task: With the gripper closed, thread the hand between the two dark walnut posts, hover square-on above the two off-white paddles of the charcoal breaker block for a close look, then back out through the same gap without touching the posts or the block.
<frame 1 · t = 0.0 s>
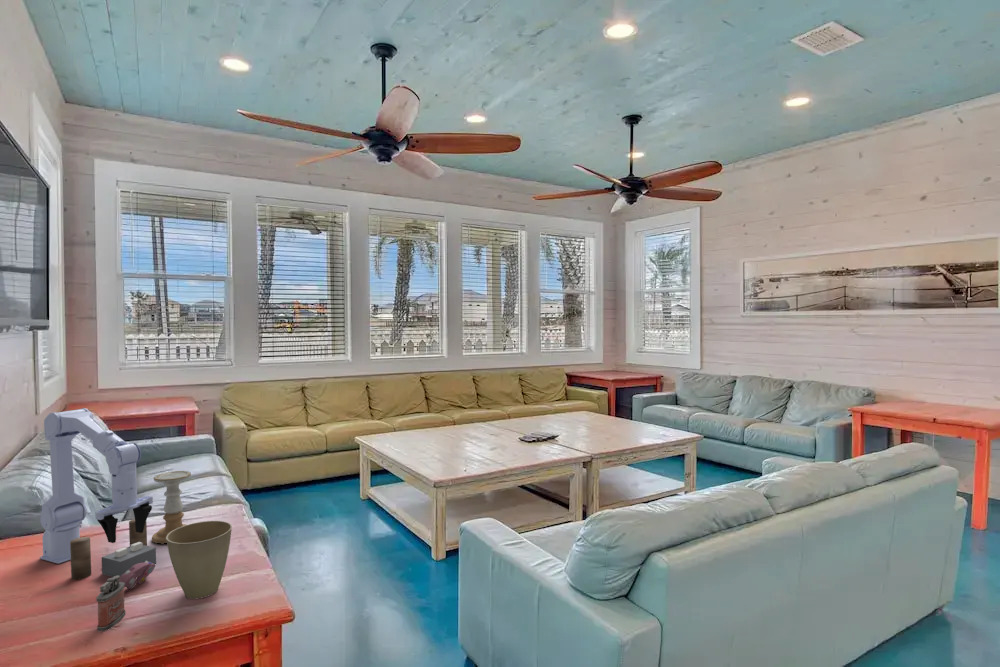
hand: (126, 537, 157), 10 cm above the table, tool pointing down, fingers open, 7 cm apart
plant pot: (201, 593, 146), on the table
candle holder: (174, 537, 183), on the table
walnut post 1: (81, 576, 156), on the table
breaker block: (129, 569, 160), on the table
walnut post 2: (138, 553, 171), on the table
lighter: (111, 622, 132), on the table
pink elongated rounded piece: (134, 586, 150), on the table
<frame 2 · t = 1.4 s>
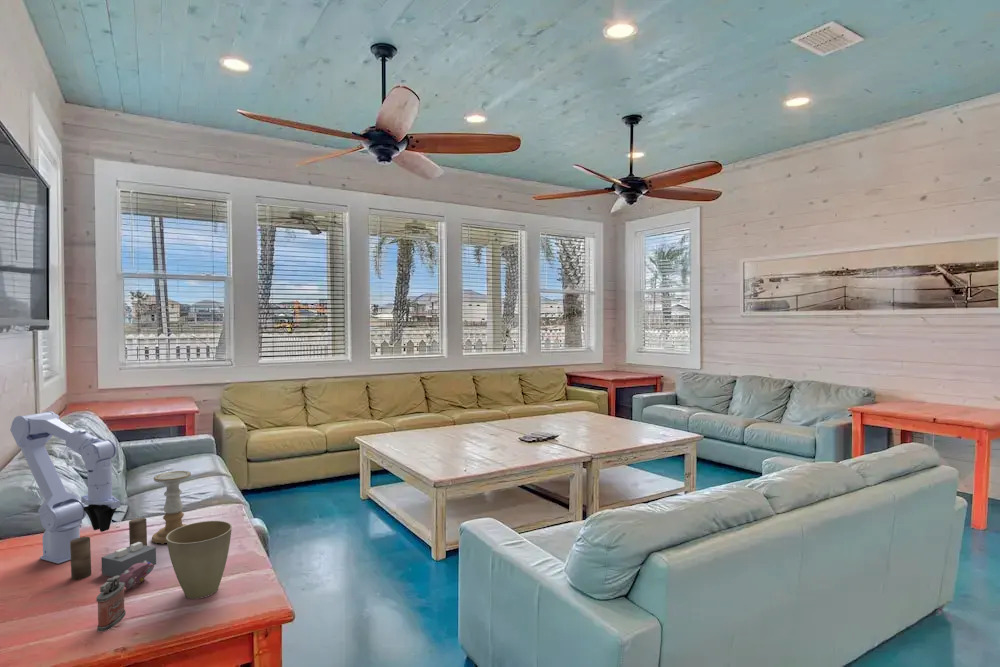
hand: (101, 529, 165), 9 cm above the table, tool pointing down, fingers closed
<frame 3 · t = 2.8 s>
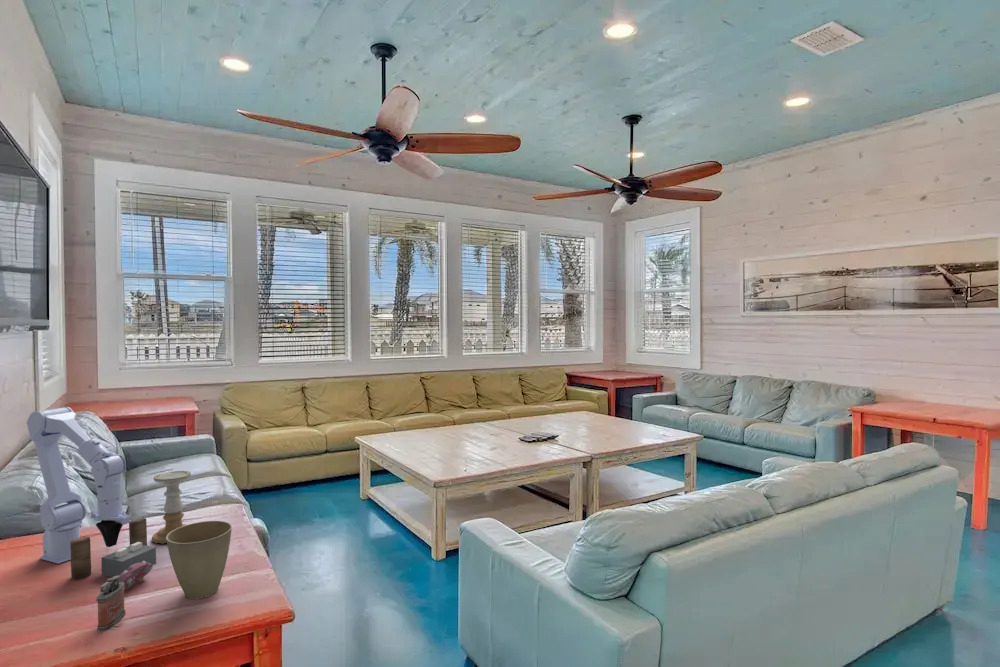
hand: (111, 545, 163), 5 cm above the table, tool pointing down, fingers closed
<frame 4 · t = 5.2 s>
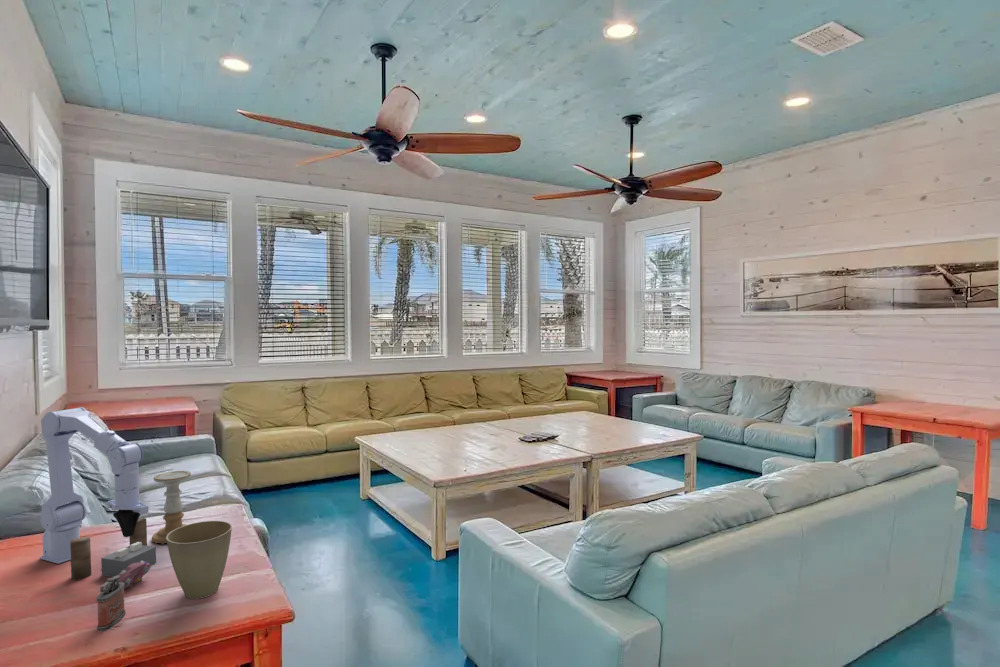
hand: (128, 535, 160), 9 cm above the table, tool pointing down, fingers closed
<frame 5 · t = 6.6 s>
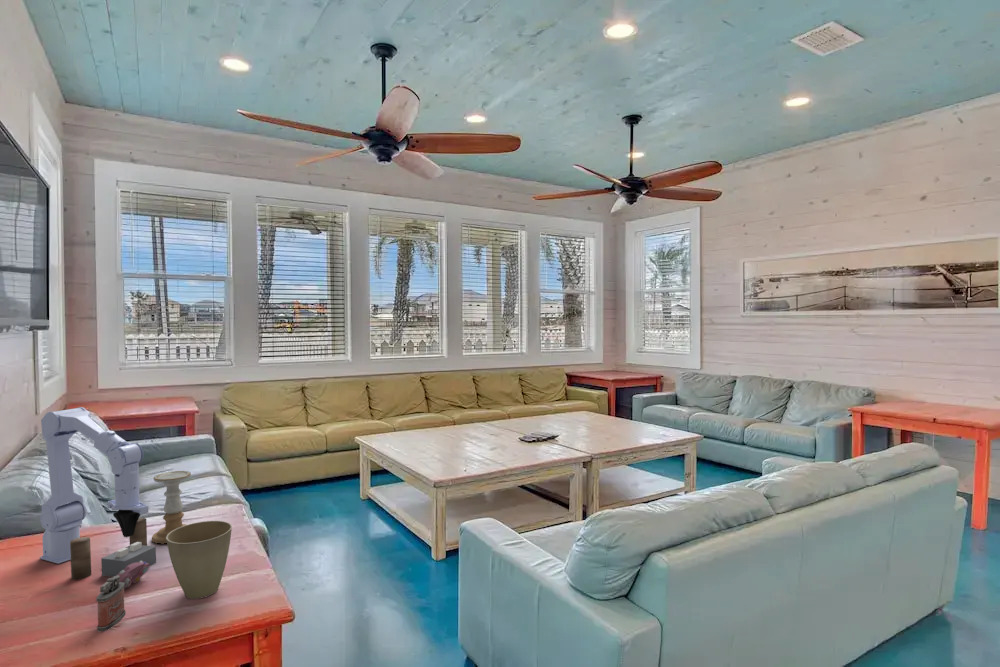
hand: (128, 535, 160), 9 cm above the table, tool pointing down, fingers closed
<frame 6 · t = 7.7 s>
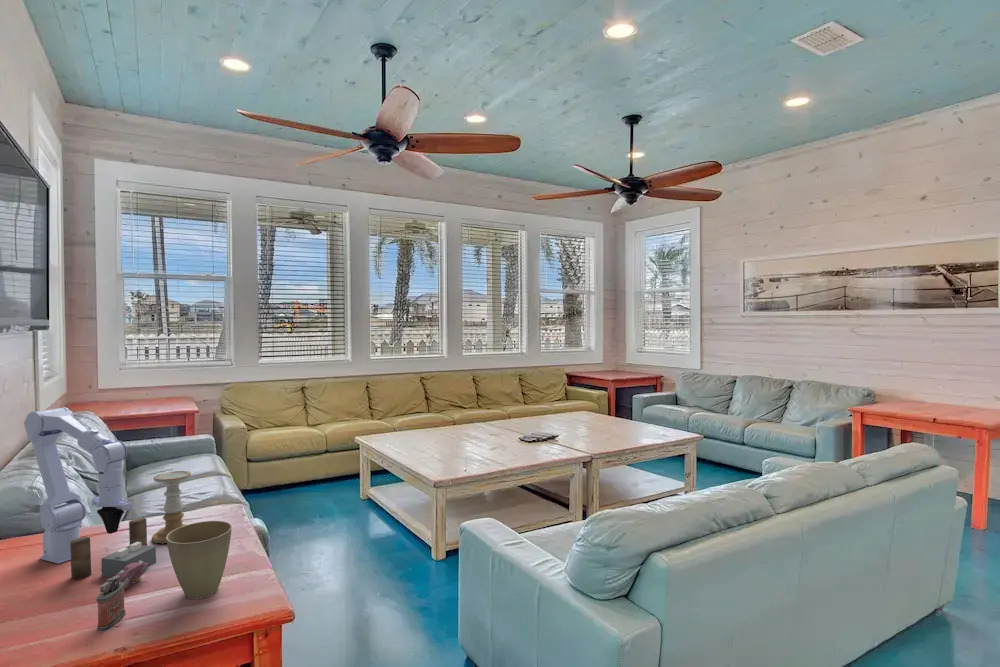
hand: (112, 532, 163), 9 cm above the table, tool pointing down, fingers closed
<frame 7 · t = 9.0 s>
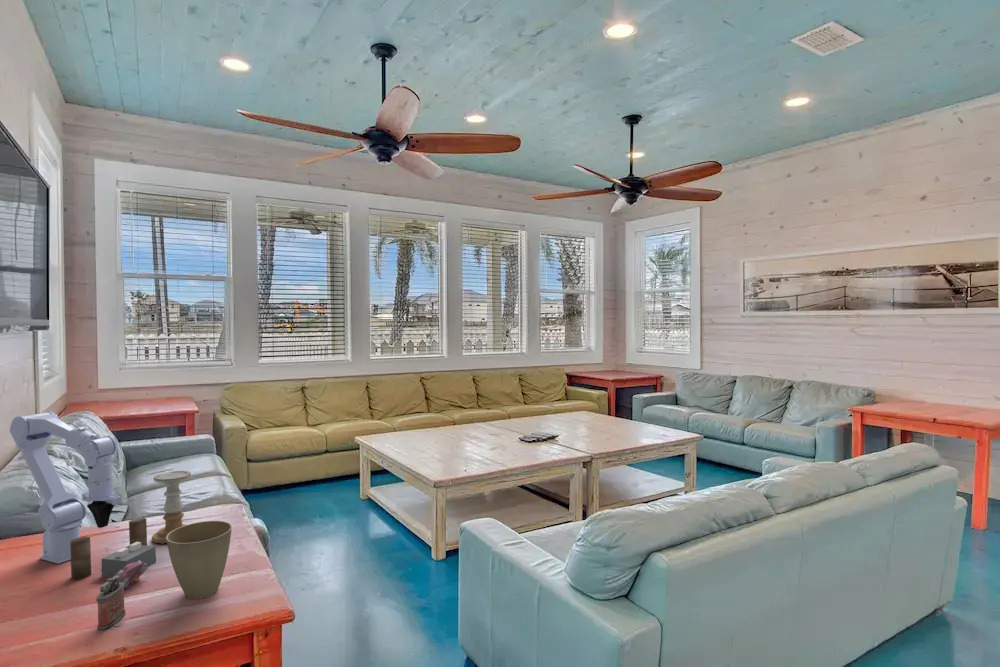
hand: (102, 526, 164), 10 cm above the table, tool pointing down, fingers closed
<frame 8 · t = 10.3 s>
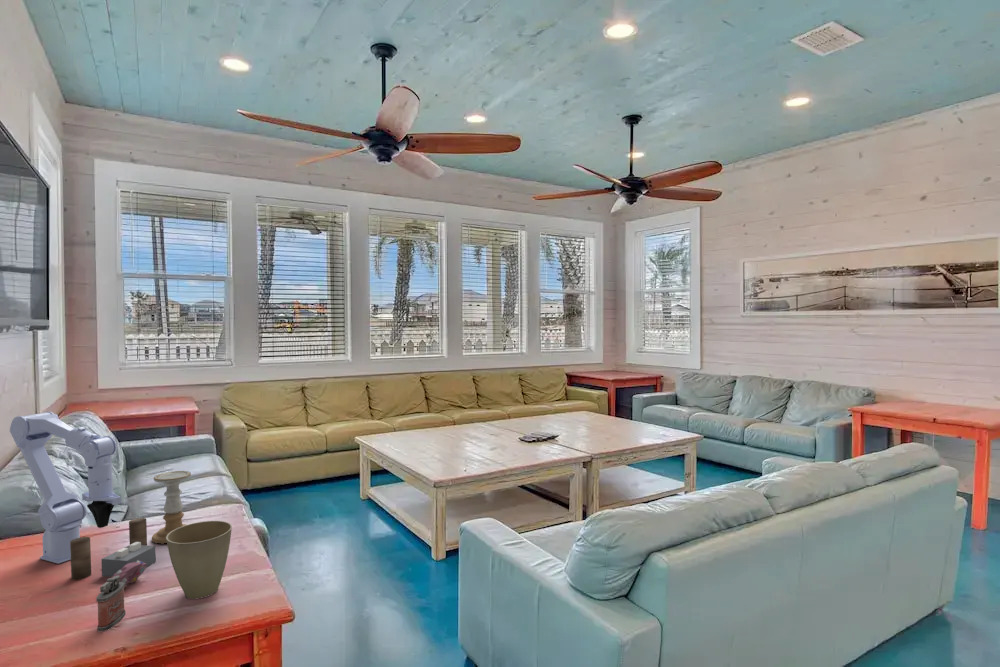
hand: (102, 526, 164), 10 cm above the table, tool pointing down, fingers closed
at the end: breaker block moved 0.3 cm from its start; walnut post 1 moved 0.0 cm from its start; walnut post 2 moved 0.0 cm from its start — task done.
